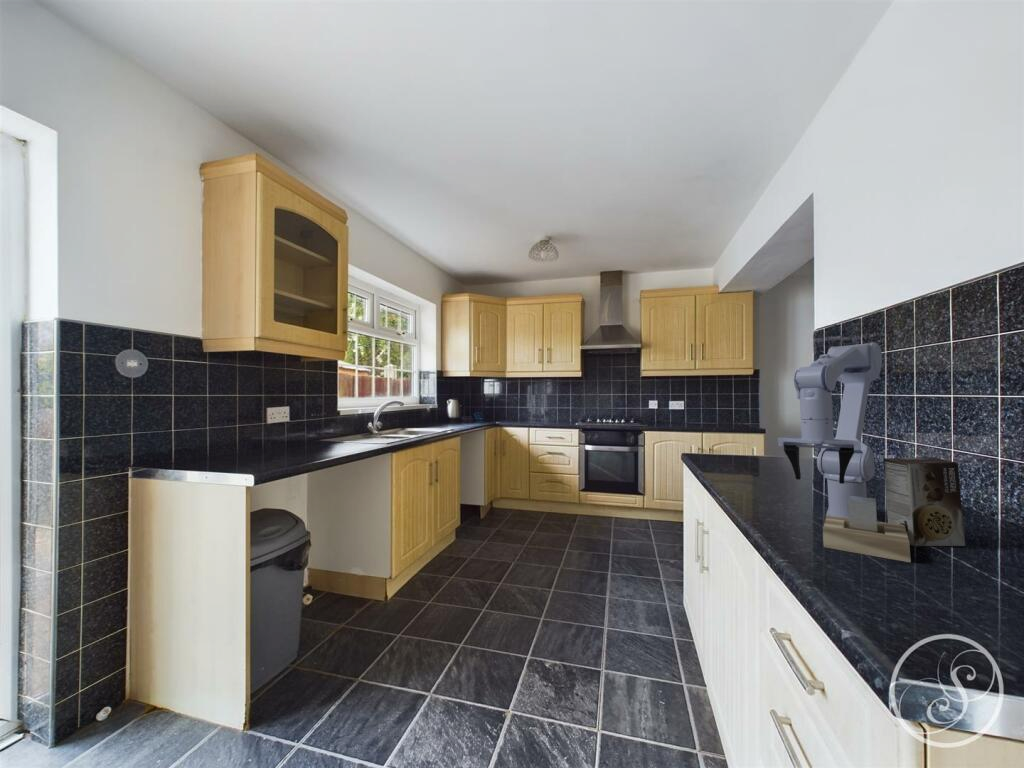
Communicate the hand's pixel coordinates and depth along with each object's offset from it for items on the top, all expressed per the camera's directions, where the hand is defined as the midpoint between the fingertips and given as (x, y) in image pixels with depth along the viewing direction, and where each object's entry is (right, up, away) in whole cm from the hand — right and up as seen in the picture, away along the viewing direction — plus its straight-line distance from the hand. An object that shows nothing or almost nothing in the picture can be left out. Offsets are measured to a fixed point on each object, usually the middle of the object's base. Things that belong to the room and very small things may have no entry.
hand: (819, 480), depth 89 cm
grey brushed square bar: (0, -10, -11) cm, 15 cm away
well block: (0, -10, -11) cm, 15 cm away
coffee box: (+14, -10, -9) cm, 19 cm away
